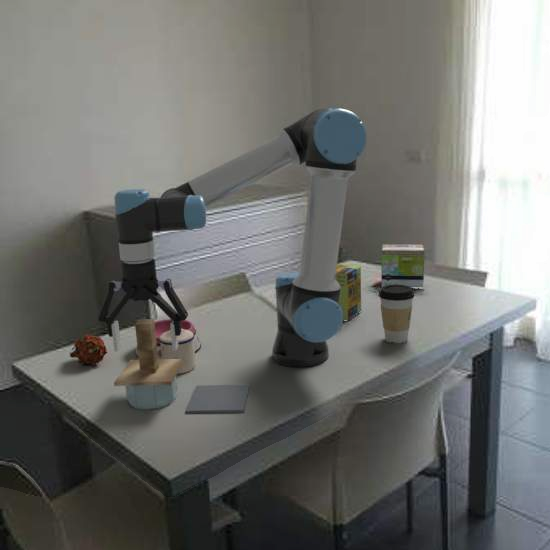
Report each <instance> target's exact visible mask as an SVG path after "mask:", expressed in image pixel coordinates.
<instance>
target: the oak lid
mask: <svg viewBox="0 0 550 550" xmlns="http://www.w3.org/2000/svg"><path fill="white" fill-rule="evenodd" d="M154 322H155V319H154V318H145V319H144V318H143V319H142V318H141V319H140V318H139V319H138V320H137V322H136V323H135V324H134V326H135V327H134V328H135V336H136V348H137V347H138V356H139V357H138V359H130V360H129V361H128V363H127V364H126V365H125V367H124V368H123V369H122V371H121V372H120V374H119V375H118V376H117V378H116V379H115V381H114V382H113V384H114V387H125V386H137V385H172V383H173V381H174V379H175V377H176V378H177V375H178V374H177V373H178V371H179V369H180V367H181V365H182V363H183V359H158V352H157V343H156V333H155V324H154Z"/></svg>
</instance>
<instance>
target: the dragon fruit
mask: <svg viewBox="0 0 550 550" xmlns="http://www.w3.org/2000/svg"><path fill="white" fill-rule="evenodd" d="M71 350H73V351H72V352H71V351H70V352H69V357H70V358H71V359H73V358H77V359H78V363H79V364H82V365H86V364H85V363H87V365H90V366H93V365H94V364H96V363H97V364H98V363H100V362H102V361H103V360H104V357H105V356H106V355H107V354H108V349H107V347H106V345H105V342H104V340H103V339H102V338H101V337H99V336H95V335H93V334H85V335H84V336H83V338H82V339H78V340H76V342H75V343H74V346H73V347H72V348H71ZM97 364H96V365H97ZM94 366H95V365H94Z"/></svg>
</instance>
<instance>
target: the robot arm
mask: <svg viewBox="0 0 550 550" xmlns="http://www.w3.org/2000/svg"><path fill="white" fill-rule="evenodd" d="M367 138H368V137H367V131H366V127H365V125H364V122H363V121H362V119H361V118H360V117H359V116H358V115H357V114H356V113H354V112H353V111H350V110H348V109H345V108H340V107H338V108H337V107H336V108H334V107H333V108H331V107H330V108H321V109H317V110H314V111H311V112H309V113H308V114H306V115H304V116H303V117H302V118H300V119H299V120H297V121H294V122H293V123H291V124H290V125H288V126H286V127H284V128H282V129H280V131H279V134H278V135H277V136H276V137H274V138H272V139H270V140H268V141H266V142H264V143H262V144H260V145H258V146H256V147H254V148H252V149H250V150H248V151H246V152H243V153H242V154H240V155H238V156H236V157H233V158H232V159H230V160H228V161H226V162H224V163H222V164H220V165H218V166H217V167H214V168H212V169H210V170H208V171H206V172H204V173H202V174H200V175H199V176H196V177H194V178H193V179H190V180H188V181H187V182H185V183H183V184H181V185H179V186H177V187H172V188H169V189H167V190H165V191H164V192H163V193H162V194H161V196H160V197H151V195H150V193H149V190H147V189H143V188H140V189H139V188H138V189H137V188H136V189H135V188H134V189H132V188H131V189H123V190H119V191H118V192H116V194H114V211H115V212H114V215H115V222H116V223H115V224H116V230H117V231H116V232H117V239H118V248H119V249H118V250H119V259H120V261H121V263H120V269H121V278H122V281H117V280H116V279H113V280H111V281H110V282H109V283H108V293H107V295H106V298H105V301H104V303H103V305H102V309H101V310H100V313H99V316H98V321H99V322H103V323H106V326H107V332H108V333H107V334H108V336H109V337H110V338H112V341H113V351H114V352H119V350H121V348H122V343H121V335H120V334H121V333H120V326H119V320H116V318H117V317H118V316H119V315H120V313H121V312H122V310H123V309H124V308H125V306H126V305H127V304H128V302H130V300H132V301H134V302H139V301H142V302H143V301H144V302H145V301H149V300H150V301H151V302H152V303H154V304H155V305H156V306H157V307H158V308H159V309H160V310H161V311H162V313H164V314H165V315H166V316H167V317H168V319H171V320H172V322H171V324H170V326H171V338H172V349H173V351H176V350H177V348H178V336H180V334H181V321H182V320H187V318H188V316H189V313H188V311H187V309H186V308H185V306H184V304H183V303H182V301H181V299H180V298H179V296H178V295H177V293H176V291H175V289H174V288H173V283H172V279H171V278H166V279H165V280H158V278H157V268H156V260H155V259H154V257H155V244H154V236H153V234H154V233H161V232H174V231H193V230H197V229H203V228H205V226H206V225H207V210H206V208H209V206H212V205H213V204H216V203H217V202H220V201H221V200H224V199H226V198H228V197H230V196H231V195H233V194H236V193H238V192H240V191H241V190H243V189H246V188H247V187H250V186H252V185H253V184H255V183H257V182H259V181H261V180H263V179H266V178H267V177H269V176H272V175H273V174H276V173H278V172H279V171H281V170H283V169H285V168H287V167H289V166H291V165H295V166H297V167H298V166H300V165H303V164H304V163H305V166H304V167H305V169H306V170H307V171H308V173H309V174H310V179H309V188H308V195H307V197H308V198H307V205H306V206H307V207H306V215H305V223H304V234H303V242H302V250H301V251H302V252H301V259H300V267H299V272H289V273H284V274H281V275H278V276H277V277H276V278H275V287H274V289H275V302H276V319H277V320H276V321H277V322H276V323H277V332H276V336H275V339H274V342H273V346H272V359H273V360H274V362H275V363H277V364H279V365H282V366H285V367H293V368H302V367H312V366H316V365H319V364H321V363H323V362H325V361H327V360H328V358H329V356H330V355H329V354H330V353H329V345H328V343H327V341H328V340H330V339H331V338H333V337H334V336H335V335H337V333H338V332H339V331H340V330H341V329H342V328H341V327H342V326H343V322H344V321H343V313H342V309H341V307H340V305H339V296H340V287H341V286H340V285H339V283H338V282H337V281H336V279H335V276H336V268H337V264H338V259H339V252H340V244H341V243H340V242H341V237H342V236H341V235H342V227H343V219H344V211H345V203H346V195H347V188H348V180H349V178H350V177H351V176H352V175H354V174H355V173H356V171H357V162H358V158H359V157H360V156H361V155H362V153H363V152H364V149H365V148H366V144H367ZM158 288H161V289H162V290H163V291H165V295H166V296H167V298H168V299H169V301H170V303H171V305H172V306H173V307H174V308H173V307H172V306H171V305H170V304H169V302H167V300H165V298H164V297H162V294H161V293H160V292H159V291H158ZM120 289H122V290H123V292H125V295H124V296H123V298H122V299H121V300H120V302H119V303H118V304H117V306H116V307H115V308H114V310H113V311H112V313H111V314H110V315H109V313H110V309H111V307H112V305H113V301H114V299H115V298H116V297H115V296H116V294H117V292H118V291H120Z"/></svg>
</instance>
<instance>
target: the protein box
mask: <svg viewBox="0 0 550 550" xmlns="http://www.w3.org/2000/svg"><path fill="white" fill-rule="evenodd" d="M361 268H362V267H361V265H351V264H339V263H337V268H336V276H335V279H336V281H337V282H338V283H339V285H340V286H341V287H340V296H339V305H340V307H341V309H342V313H343V320H347V321H348V320H349V319H351V318H352V317H354V316H355V315H356V314H358V313H359V312H360V311H361V312H362V279H361V278H362V273H361V271H362V269H361ZM359 314H360V313H359ZM359 314H358V315H359ZM356 316H357V315H356ZM356 316H355V317H356ZM355 317H354V318H355ZM352 319H353V318H352ZM352 319H351V320H352ZM347 321H346V322H347ZM349 321H350V320H349ZM349 321H348V322H349Z"/></svg>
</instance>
